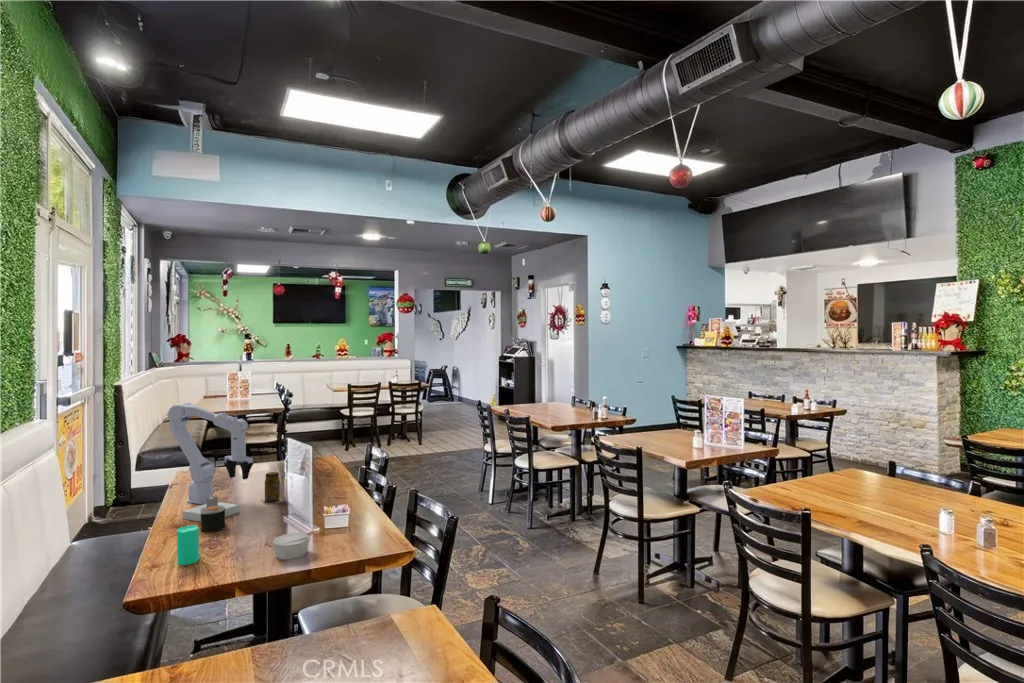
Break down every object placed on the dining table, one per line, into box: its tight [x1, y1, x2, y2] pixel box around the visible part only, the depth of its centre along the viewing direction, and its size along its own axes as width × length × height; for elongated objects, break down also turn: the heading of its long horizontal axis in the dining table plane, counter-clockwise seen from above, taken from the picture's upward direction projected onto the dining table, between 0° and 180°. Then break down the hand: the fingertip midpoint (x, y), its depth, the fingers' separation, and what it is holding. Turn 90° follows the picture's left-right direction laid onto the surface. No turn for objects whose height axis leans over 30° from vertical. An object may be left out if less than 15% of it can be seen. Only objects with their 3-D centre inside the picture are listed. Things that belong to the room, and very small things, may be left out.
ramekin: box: [272, 532, 310, 561], centre depth 181 cm, size 11×11×5 cm
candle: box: [176, 524, 200, 566], centre depth 176 cm, size 6×6×12 cm
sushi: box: [200, 505, 226, 534], centre depth 206 cm, size 8×8×8 cm
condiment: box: [261, 471, 284, 505], centre depth 241 cm, size 7×8×12 cm
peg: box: [205, 495, 219, 508], centre depth 222 cm, size 4×4×7 cm
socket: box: [182, 501, 240, 523], centre depth 221 cm, size 14×14×3 cm
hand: (238, 478), depth 241 cm, fingers open, 7 cm apart
